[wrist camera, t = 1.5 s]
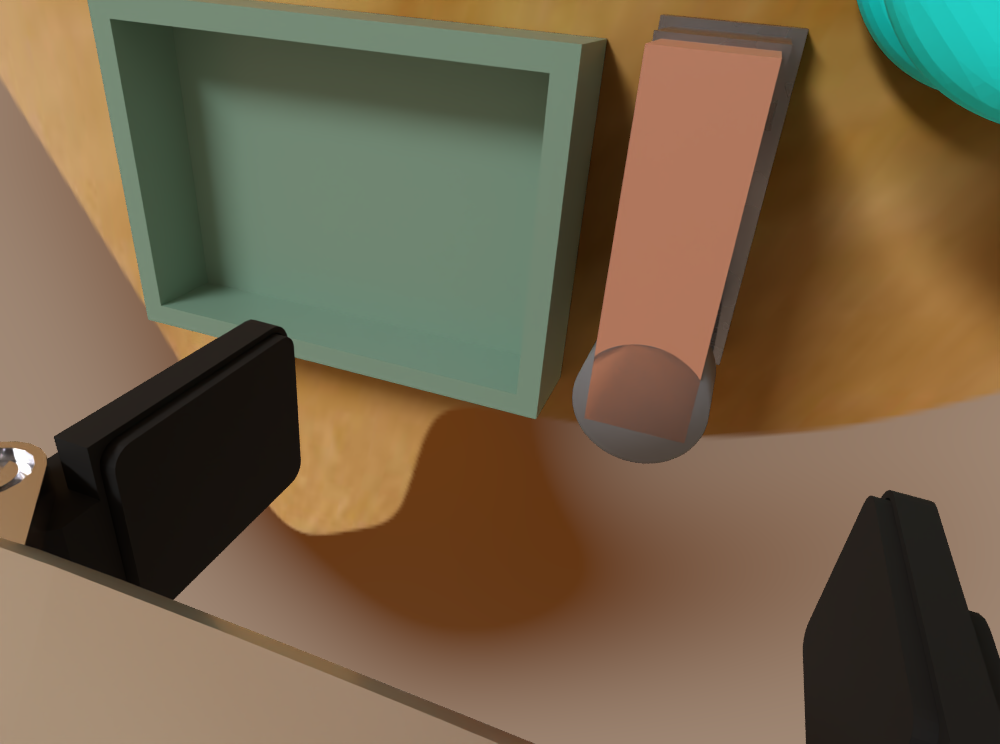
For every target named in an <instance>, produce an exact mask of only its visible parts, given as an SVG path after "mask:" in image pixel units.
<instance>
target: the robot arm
mask: <svg viewBox="0 0 1000 744" xmlns="http://www.w3.org/2000/svg"><path fill="white" fill-rule="evenodd" d="M54 439H55V443H56V446H57V450H58V453H56V454H54V455H53V456H52V457H50V458H48V459H47V456H46V454H45V453H44V452H43V451H42V449H41V448H39V447H36V446H34V445H32V444H29V443H23V442H16V441H14V442H0V744H534V743H532V742H530V741H527V740H524V739H522V738H520V737H517V736H515V735H512V734H509V733H507V732H505V731H502V730H500V729H497V728H495V727H492V726H490V725H487V724H485V723H482V722H480V721H477V720H475V719H473V718H470V717H467V716H465V715H463V714H460V713H457V712H455V711H453V710H450V709H448V708H445V707H443V706H440V705H437V704H435V703H432V702H430V701H427V700H425V699H422V698H420V697H418V696H415V695H412V694H410V693H407V692H405V691H402V690H400V689H397V688H395V687H392V686H390V685H387V684H385V683H382V682H380V681H377V680H375V679H372V678H370V677H367V676H365V675H362V674H360V673H357V672H354V671H352V670H350V669H347V668H344V667H342V666H339V665H337V664H334V663H332V662H329V661H327V660H324V659H322V658H319V657H317V656H314V655H312V654H309V653H307V652H304V651H302V650H299V649H296V648H294V647H292V646H289V645H286V644H284V643H281V642H279V641H276V640H274V639H271V638H269V637H266V636H264V635H261V634H259V633H256V632H254V631H251V630H249V629H246V628H243V627H240V626H238V625H236V624H233V623H230V622H228V621H225V620H223V619H220V618H218V617H215V616H213V615H210V614H208V613H205V612H202V611H200V610H197V609H195V608H192V607H189V606H187V605H184V604H182V603H179V602H177V601H174V599H175V598H176V597H177V596H178V594H180V593H181V592H182V591H183V590H184V589H185V588H186V587H187V586H188V585H189V584H190V583H191V582H192V581H193V580H194V579H195V578H196V577H197V576H198V575H199V574H200V573H201V572H202V571H203V570H204V569H205V568H206V567H207V566H208V565H209V564H210V563H211V562H212V561H213V560H214V559H215V558H216V557H217V556H218V555H219V554H220V553H221V552H222V551H223V550H224V549H225V548H226V547H227V546H228V545H229V544H230V543H231V542H232V541H233V540H234V539H235V538H236V537H237V536H238V535H239V534H240V533H241V532H242V531H243V530H244V529H245V528H246V527H247V526H248V525H249V524H250V523H251V522H252V521H253V520H254V519H255V518H256V517H258V515H260V513H262V512H263V511H264V509H266V508H267V507H268V506H269V505H270V504H271V503H272V502H273V501H274V500H275V499H276V498H277V497H278V496H279V495H280V494H281V493H282V492H283V491H284V490H285V489H286V488H287V487H288V486H289V485H290V484H291V483H292V482H293V481H294V479H295V478H296V476H297V474H298V472H299V469H300V464H301V457H300V440H299V423H298V405H297V388H296V371H295V354H294V344H293V341H292V339H290V338H289V337H287V333H286V331H285V329H283V328H282V327H280V326H276V325H272V324H269V323H265V322H261V321H258V320H252V319H250V320H247V321H245V322H243V323H242V324H240V325H238V326H237V327H235V328H233V329H232V330H230V331H229V332H227V333H225V334H224V335H222V336H220V337H219V338H217V339H215V340H214V341H212V342H210V343H209V344H207V345H205V346H204V347H202V348H200V349H199V350H197V351H195V352H194V353H192V354H190V355H189V356H187V357H185V358H184V359H182V360H180V361H179V362H177V363H175V364H174V365H172V366H170V367H169V368H167V369H165V370H164V371H162V372H161V373H159V374H157V375H155V376H154V377H152V378H151V379H149V380H147V381H146V382H144V383H142V384H140V385H139V386H137V387H136V388H134V389H133V390H130V391H129V392H127V393H126V394H124V395H122V396H121V397H119V398H117V399H116V400H114V401H113V402H111V403H109V404H107V405H106V406H104V407H102V408H101V409H99V410H97V411H96V412H94V413H92V414H91V415H89V416H87V417H86V418H84V419H82V420H81V421H79V422H77V423H76V424H74V425H73V426H71V427H69V428H67V429H66V430H64V431H62V432H61V433H59V434H58V435H56V436H54ZM803 667H804V668H803V669H804V697H805V698H804V699H805V727H806V744H1000V658H999V655H998V652H997V649H996V646H995V643H994V640H993V637H992V634H991V631H990V628H989V626H988V624H987V622H986V620H985V619H984V618H983V617H982V616H981V615H980V614H979V613H975V612H972V611H969V610H968V607H967V604H966V601H965V598H964V594H963V592H962V588H961V585H960V582H959V578H958V575H957V572H956V569H955V565H954V562H953V559H952V556H951V552H950V549H949V545H948V542H947V539H946V536H945V533H944V529H943V526H942V523H941V519H940V516H939V513H938V510H937V507H936V505H935V503H934V502H932V501H929V500H925V499H921V498H917V497H913V496H910V495H906V494H903V493H899V492H895V491H891V490H888V491H886V492H885V493H884V494H883V496H882V498H878V497H874V496H869V497H868V498H867V499H866V501H865V503H864V505H863V507H862V509H861V511H860V513H859V515H858V517H857V519H856V522H855V524H854V526H853V528H852V530H851V533H850V535H849V537H848V539H847V541H846V543H845V545H844V548H843V550H842V552H841V554H840V556H839V558H838V561H837V563H836V565H835V567H834V569H833V571H832V574H831V576H830V578H829V580H828V582H827V584H826V586H825V588H824V590H823V593H822V595H821V597H820V599H819V601H818V603H817V606H816V608H815V610H814V612H813V614H812V617H811V618H810V621H809V623H808V625H807V628H806V632H805V636H804V642H803Z"/></svg>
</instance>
